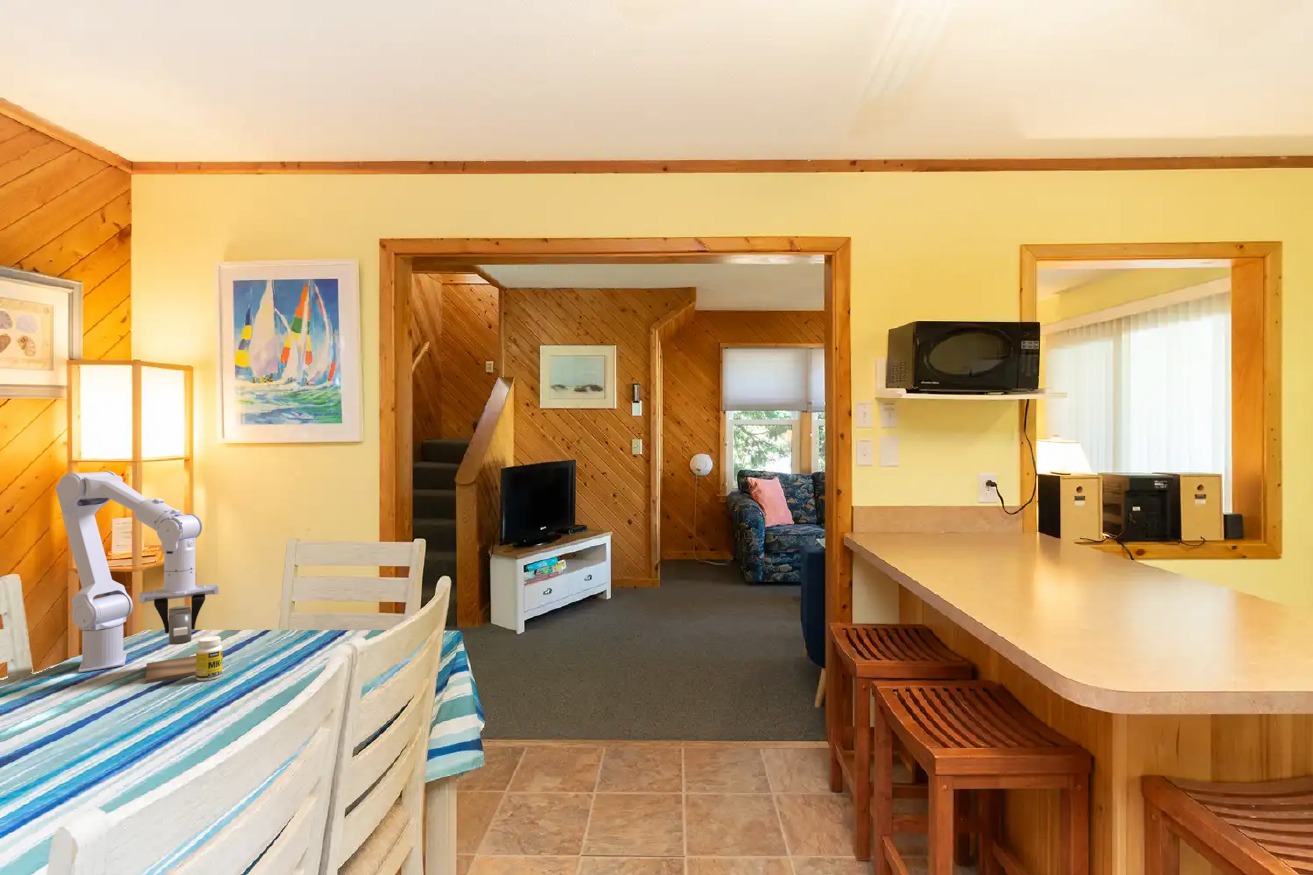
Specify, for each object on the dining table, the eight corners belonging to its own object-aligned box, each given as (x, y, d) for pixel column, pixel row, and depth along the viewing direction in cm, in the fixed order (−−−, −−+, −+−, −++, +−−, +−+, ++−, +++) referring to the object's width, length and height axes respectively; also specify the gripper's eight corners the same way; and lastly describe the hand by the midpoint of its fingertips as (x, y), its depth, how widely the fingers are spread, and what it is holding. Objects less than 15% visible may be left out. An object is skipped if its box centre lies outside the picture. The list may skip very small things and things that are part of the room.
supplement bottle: (209, 682, 142) (209, 642, 142) (190, 680, 143) (190, 641, 143) (227, 674, 146) (227, 635, 146) (209, 672, 147) (209, 634, 147)
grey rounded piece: (168, 633, 153) (168, 607, 153) (189, 630, 155) (190, 605, 155) (169, 648, 142) (169, 619, 142) (192, 644, 145) (192, 616, 145)
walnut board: (146, 666, 151) (146, 663, 151) (210, 656, 158) (210, 653, 158) (145, 683, 141) (145, 679, 141) (213, 671, 148) (213, 668, 148)
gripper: (138, 576, 142) (138, 640, 142) (219, 568, 151) (219, 628, 151) (139, 571, 148) (139, 632, 148) (217, 563, 156) (217, 622, 156)
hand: (179, 630), depth 150 cm, fingers closed on grey rounded piece, 4 cm apart
